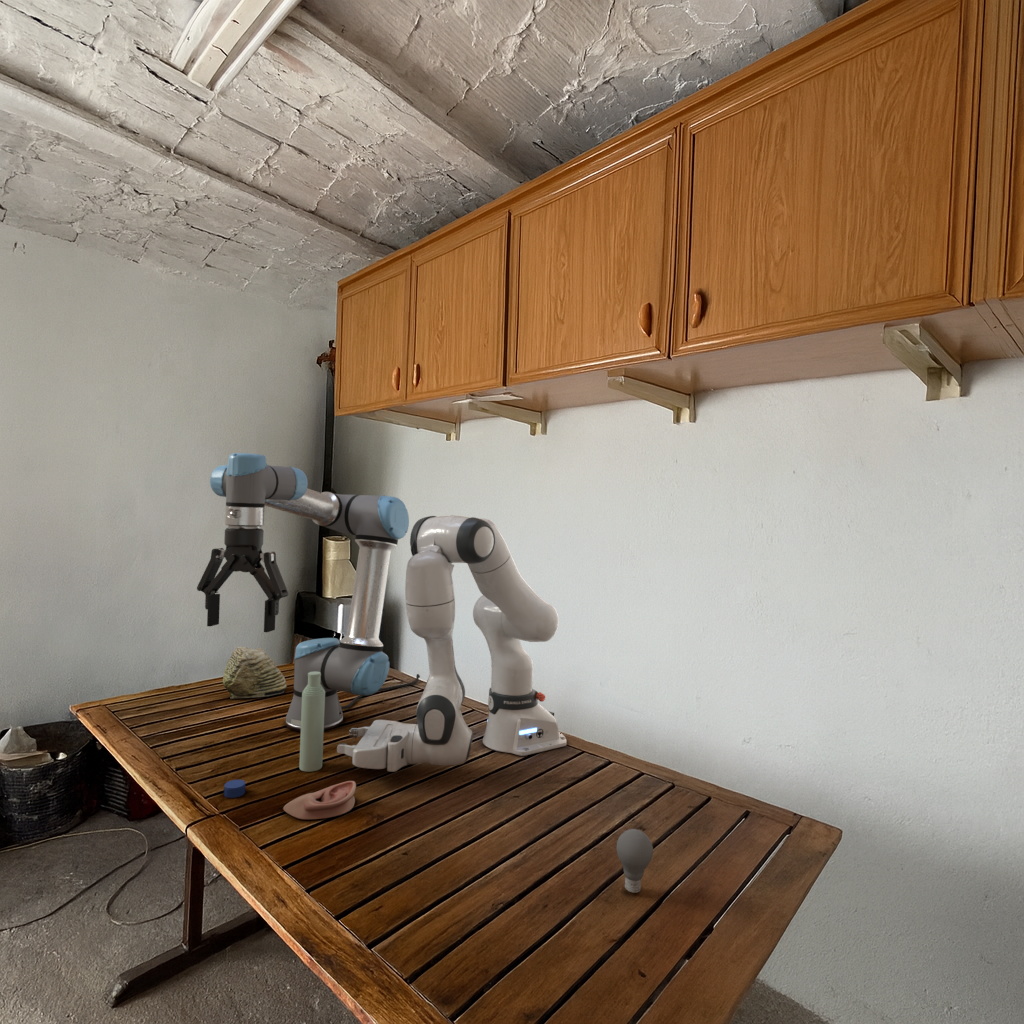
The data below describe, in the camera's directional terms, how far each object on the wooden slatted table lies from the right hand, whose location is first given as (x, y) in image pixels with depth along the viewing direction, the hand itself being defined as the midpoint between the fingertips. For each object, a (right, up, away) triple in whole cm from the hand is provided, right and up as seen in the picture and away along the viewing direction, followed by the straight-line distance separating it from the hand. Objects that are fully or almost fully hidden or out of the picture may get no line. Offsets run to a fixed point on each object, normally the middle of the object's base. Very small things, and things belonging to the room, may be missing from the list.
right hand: (344, 740), depth 148 cm
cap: (-19, -4, -14) cm, 24 cm away
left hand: (-18, +29, -15) cm, 37 cm away
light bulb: (+59, -10, -42) cm, 74 cm away
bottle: (-8, -6, 0) cm, 10 cm away
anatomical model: (0, -7, -19) cm, 20 cm away
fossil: (-41, -4, +50) cm, 65 cm away
